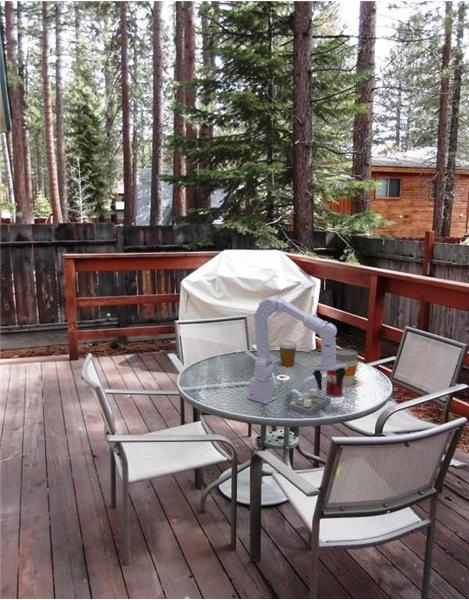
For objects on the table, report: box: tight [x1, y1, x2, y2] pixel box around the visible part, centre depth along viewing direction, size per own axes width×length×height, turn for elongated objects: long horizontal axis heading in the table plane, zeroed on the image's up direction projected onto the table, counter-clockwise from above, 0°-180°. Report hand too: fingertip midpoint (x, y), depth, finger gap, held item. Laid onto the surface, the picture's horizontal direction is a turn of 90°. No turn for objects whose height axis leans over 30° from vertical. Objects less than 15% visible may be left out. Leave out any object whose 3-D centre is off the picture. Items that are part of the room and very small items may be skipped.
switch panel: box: [287, 394, 331, 416], centre depth 195 cm, size 10×17×2 cm, turn 142°
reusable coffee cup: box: [336, 348, 359, 387], centre depth 224 cm, size 13×13×15 cm
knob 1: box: [304, 399, 311, 407], centre depth 189 cm, size 2×3×2 cm
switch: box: [302, 392, 310, 400], centre depth 196 cm, size 2×3×2 cm
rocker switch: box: [309, 388, 318, 397], centre depth 200 cm, size 2×3×2 cm
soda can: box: [325, 370, 344, 398], centre depth 208 cm, size 7×7×12 cm
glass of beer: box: [278, 340, 298, 368], centre depth 251 cm, size 10×10×12 cm
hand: (329, 388), depth 190 cm, fingers open, 7 cm apart
